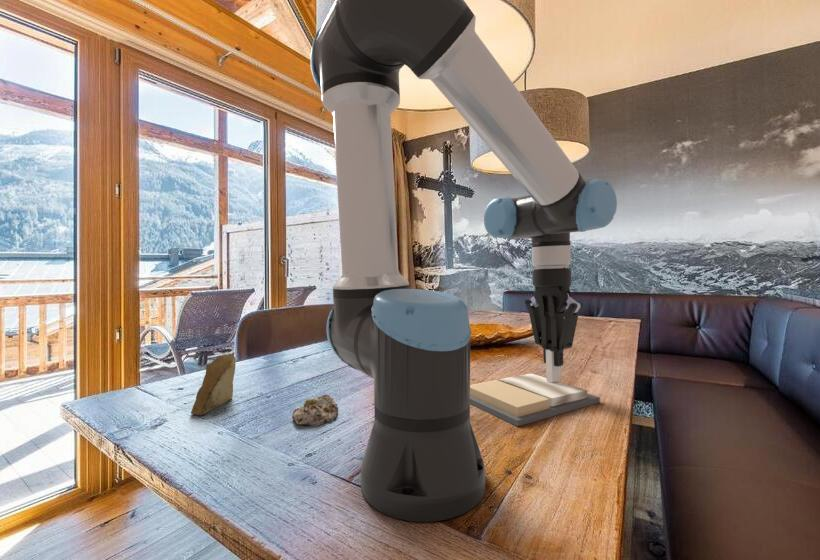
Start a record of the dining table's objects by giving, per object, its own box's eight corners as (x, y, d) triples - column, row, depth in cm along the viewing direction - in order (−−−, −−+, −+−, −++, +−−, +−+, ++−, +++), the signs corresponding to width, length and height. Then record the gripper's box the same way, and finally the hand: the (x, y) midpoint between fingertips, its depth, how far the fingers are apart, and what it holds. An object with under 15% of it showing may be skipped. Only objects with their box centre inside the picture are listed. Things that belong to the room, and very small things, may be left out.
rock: (204, 408, 65) (253, 385, 74) (181, 367, 67) (232, 350, 76) (183, 432, 71) (231, 408, 79) (163, 394, 72) (212, 375, 81)
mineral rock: (327, 417, 62) (285, 400, 63) (320, 441, 62) (279, 424, 64) (352, 397, 72) (315, 383, 74) (346, 418, 72) (310, 404, 74)
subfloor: (517, 426, 62) (517, 410, 62) (459, 398, 76) (458, 385, 76) (599, 402, 73) (599, 388, 73) (535, 381, 87) (535, 370, 86)
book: (551, 406, 67) (551, 398, 67) (497, 386, 80) (498, 379, 80) (587, 397, 72) (587, 390, 72) (531, 379, 84) (531, 373, 84)
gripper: (591, 266, 73) (593, 385, 74) (539, 267, 84) (541, 370, 85) (566, 267, 69) (568, 392, 70) (514, 268, 81) (517, 376, 82)
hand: (553, 380), depth 78 cm, fingers closed
